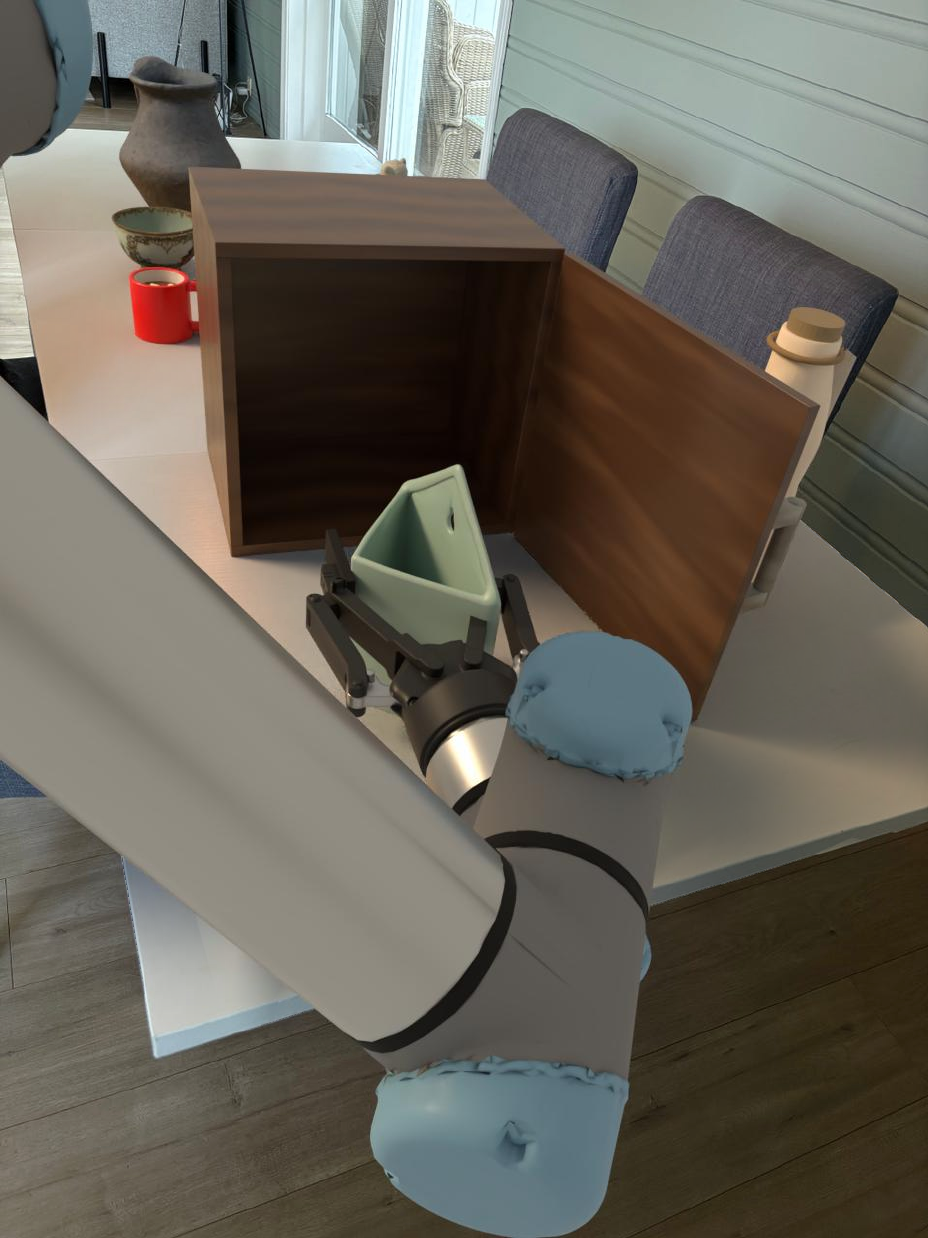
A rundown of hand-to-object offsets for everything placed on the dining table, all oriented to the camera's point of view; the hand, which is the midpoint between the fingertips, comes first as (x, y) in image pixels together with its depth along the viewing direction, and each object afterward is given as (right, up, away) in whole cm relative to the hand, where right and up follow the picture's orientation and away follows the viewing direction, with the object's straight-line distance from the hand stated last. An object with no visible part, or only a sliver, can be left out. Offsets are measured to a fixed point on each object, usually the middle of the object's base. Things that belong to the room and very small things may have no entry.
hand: (387, 539), depth 70 cm
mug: (-35, +35, +60) cm, 77 cm away
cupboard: (-6, +9, +33) cm, 35 cm away
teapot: (-9, +51, +85) cm, 100 cm away
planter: (0, -12, +4) cm, 12 cm away
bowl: (-43, +50, +78) cm, 102 cm away
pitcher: (-46, +68, +99) cm, 128 cm away
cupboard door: (+21, -5, +21) cm, 30 cm away
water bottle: (+35, 0, +30) cm, 46 cm away
